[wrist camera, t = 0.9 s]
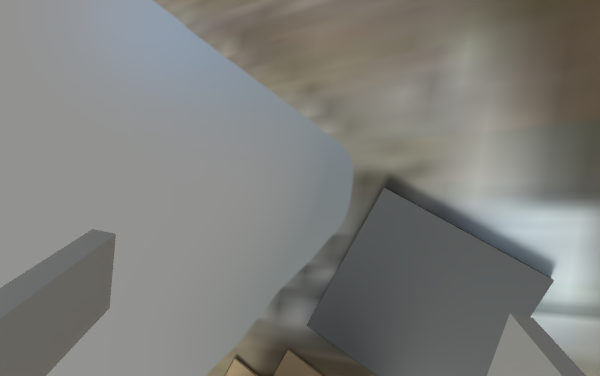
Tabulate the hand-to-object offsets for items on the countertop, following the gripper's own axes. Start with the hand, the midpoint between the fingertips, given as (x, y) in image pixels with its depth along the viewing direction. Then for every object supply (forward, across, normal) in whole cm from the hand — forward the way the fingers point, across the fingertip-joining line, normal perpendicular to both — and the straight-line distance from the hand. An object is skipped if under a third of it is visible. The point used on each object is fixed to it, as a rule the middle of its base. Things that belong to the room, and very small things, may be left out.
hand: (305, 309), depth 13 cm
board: (+19, +11, -8) cm, 23 cm away
